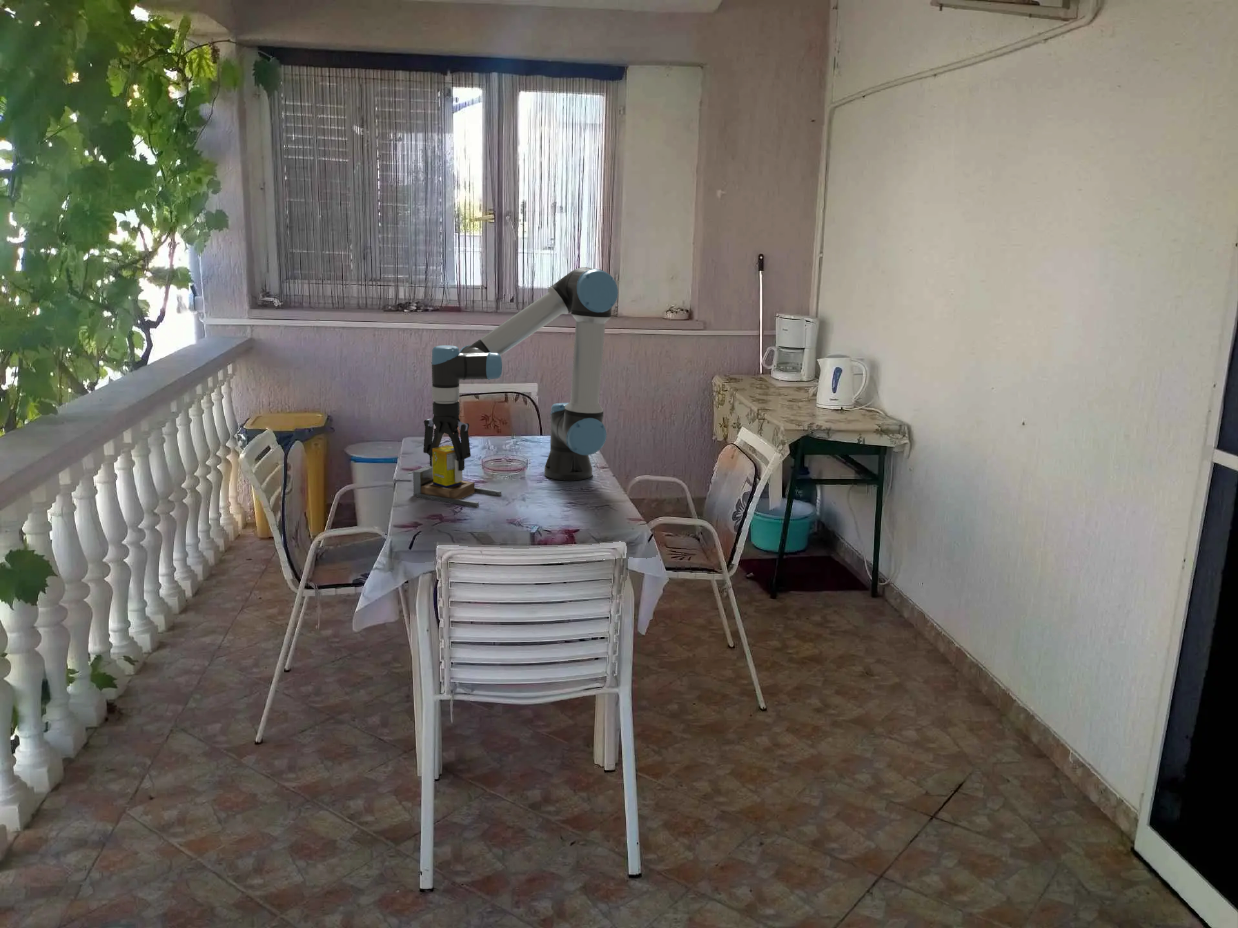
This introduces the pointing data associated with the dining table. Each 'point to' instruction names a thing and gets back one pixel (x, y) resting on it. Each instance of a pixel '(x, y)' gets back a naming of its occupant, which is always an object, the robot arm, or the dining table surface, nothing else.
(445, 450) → the supplement box
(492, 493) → the track
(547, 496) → the dining table surface
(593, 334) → the robot arm
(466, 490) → the tray
